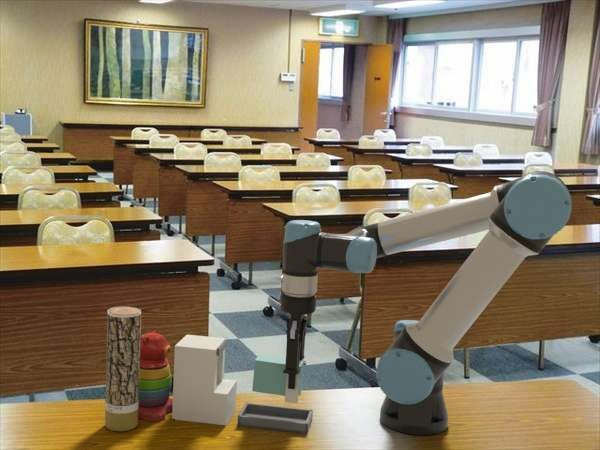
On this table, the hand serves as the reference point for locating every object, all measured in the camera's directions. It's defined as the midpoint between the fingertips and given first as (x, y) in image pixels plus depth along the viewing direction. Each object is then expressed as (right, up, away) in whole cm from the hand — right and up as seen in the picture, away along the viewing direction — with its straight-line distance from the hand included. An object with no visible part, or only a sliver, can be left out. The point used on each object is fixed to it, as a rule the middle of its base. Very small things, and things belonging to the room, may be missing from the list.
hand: (292, 397), depth 168 cm
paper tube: (-36, -5, -5) cm, 37 cm away
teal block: (-4, +1, 0) cm, 4 cm away
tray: (-4, -6, +1) cm, 7 cm away
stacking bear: (-32, -4, +4) cm, 32 cm away
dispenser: (-20, -4, +3) cm, 21 cm away
